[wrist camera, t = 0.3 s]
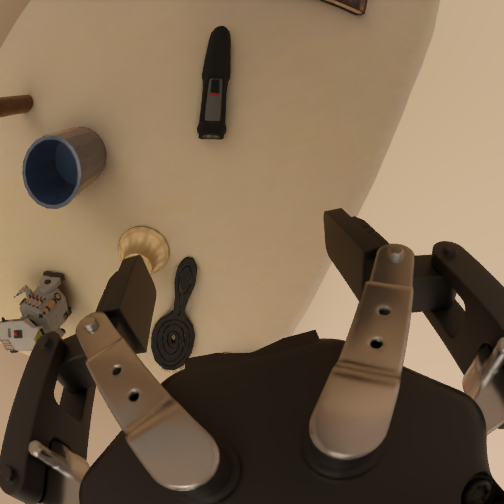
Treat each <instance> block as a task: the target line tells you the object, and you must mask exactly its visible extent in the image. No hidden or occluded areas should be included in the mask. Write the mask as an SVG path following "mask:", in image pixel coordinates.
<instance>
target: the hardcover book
mask: <svg viewBox="0 0 504 504" xmlns="http://www.w3.org/2000/svg"><path fill="white" fill-rule="evenodd" d="M320 1H323V2H326V3H329V4H331V5H334V6H336V7H339V8H341V9H344V10H346V11H348V12H351V13H353V14H355V15H363V14H365V9H366V4H367V0H320Z"/></svg>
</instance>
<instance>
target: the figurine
mask: <svg viewBox="0 0 504 504" xmlns="http://www.w3.org/2000/svg"><path fill="white" fill-rule="evenodd" d="M64 280H65V279H64V274H62V273H60V274H58V273H53V272H49V271H47V272H45V271H44V273H43V277H42V278H41V280H40V283H39V287H38V288H37V289H36V290H35V291H34V292H33V293H32V290H31V289H28V287H27V285H25V287H23V288H21V289H20V290H19V291H20V292H19V293H18V294H17V295H16V296H18V295H19V294H21V293H22V292H26V296H27V299H26V298H24V299H23V301H21V303H20V311H21V313H22V316H23V317H21V318H20V319H13V320H5V319H4V318H3V317H2V321H1V322H0V341H1V343H2V344H3V346H4V347H5V349H6V350H10V352H11V353H16V352H18V351H30V350H33V348H34V345H35V343H36V342H37V340H38V339H39V338H40V337H41V336H42V335H44V334H46V333H48V332H51V331H55V332H57V333H58V334H59V335H60V337H62V336H63V335H64V334H65V330H64V329H62V328H61V329H60V328H59V327H60V326H61V325H62V324H63V323H64V322H65V321H66V320H67V318H68V317H69V316H70V314H71V313H72V311H71V308H69V306H67V302H66V298H65V296H64V295H63V294H62V293H61V292H60V290H59V289H58V288H57V287H58V286H59V285H60V283H62V282H63V281H64Z"/></svg>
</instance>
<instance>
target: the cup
mask: <svg viewBox="0 0 504 504" xmlns="http://www.w3.org/2000/svg"><path fill="white" fill-rule="evenodd" d="M105 163H106V150H105V146H104V143H103V141H102V139H101V138H100V137H99V135H98V134H97V133H96V132H94V131H93V130H91V129H89V128H85V127H77V128H71V129H67V130H63V131H60V132H56V133H53V134H49V135H46V136H43V137H41V138H40V139H38V140H36V141H35V142H34V143H33V144H32V145H31V147H30V148H29V149H28V151H27V153H26V156H25V158H24V161H23V172H22V173H23V179H24V184H25V187H26V189H27V191H28V193H29V195H30V196H31V197H32V198H33V200H34V201H35V202H36V203H37V204H39V205H41V206H43V207H45V208H52V209H58V208H60V207H63V206H65V205H67V204H68V203H70V202H71V201H72V200H73V199H74V198H76V197H77V196H78V195H79V194H80V193H82V192H83V191H84V190H85V189H87V188H88V187H89V186H90V185H91V184H93V183H94V182H95V181H96V180H97V179H98V178H99V177H100V175H101V174H102V172H103V170H104V167H105Z"/></svg>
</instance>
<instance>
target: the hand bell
mask: <svg viewBox="0 0 504 504" xmlns="http://www.w3.org/2000/svg"><path fill="white" fill-rule="evenodd" d="M118 250H119V255H120V257H121V260H122V261H123V259H125V258H128V257H132V256H136V255H141V256H142V258H143V260H144V262H145V264H146V267H147V269H148V271H149V273H150V274H151V273H154V272H157V271H159V270H160V269H162V268H163V267H164V265H165V264H166V262H167V260H168V257H169V247H168V244H167V242H166V240H165V238H164V237H163V236H162V235H161V234H160V233H159V232H158V231H156V230H154V229H152V228H149V227H145V226H138V227H133V228H131V229H129V230H127V231H126V232H125V233H124V234H123V235H122V237H121V238H120V241H119V246H118Z"/></svg>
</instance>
